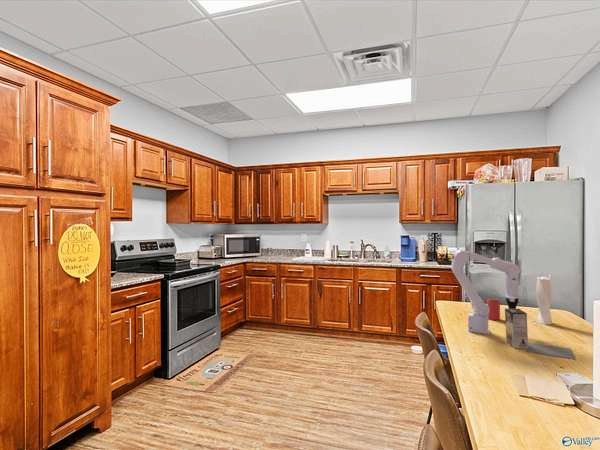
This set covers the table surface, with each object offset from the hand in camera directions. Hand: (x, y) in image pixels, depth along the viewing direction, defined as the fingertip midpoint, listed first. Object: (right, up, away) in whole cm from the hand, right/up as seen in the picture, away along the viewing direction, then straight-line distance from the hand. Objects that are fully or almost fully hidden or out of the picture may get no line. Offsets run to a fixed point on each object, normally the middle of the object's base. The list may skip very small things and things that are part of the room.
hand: (512, 312), depth 177 cm
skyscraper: (+29, -11, +17) cm, 36 cm away
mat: (+1, -11, -24) cm, 26 cm away
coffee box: (-9, -11, -18) cm, 23 cm away
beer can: (+5, -11, +26) cm, 29 cm away
